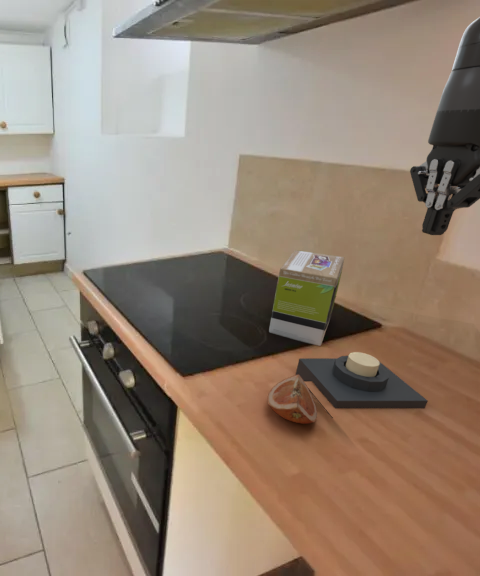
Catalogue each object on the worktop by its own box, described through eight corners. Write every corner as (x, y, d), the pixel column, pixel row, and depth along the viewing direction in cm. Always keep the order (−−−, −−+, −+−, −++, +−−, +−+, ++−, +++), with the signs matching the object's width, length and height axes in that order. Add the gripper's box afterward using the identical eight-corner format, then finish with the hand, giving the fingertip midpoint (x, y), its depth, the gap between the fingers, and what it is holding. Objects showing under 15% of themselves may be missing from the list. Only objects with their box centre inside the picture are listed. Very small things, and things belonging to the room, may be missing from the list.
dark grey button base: (370, 373, 66) (378, 349, 64) (420, 418, 55) (432, 390, 54) (295, 374, 66) (301, 349, 64) (332, 418, 55) (340, 390, 54)
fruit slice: (315, 443, 51) (323, 413, 49) (261, 426, 54) (267, 398, 52) (315, 406, 58) (322, 379, 56) (267, 393, 61) (273, 367, 59)
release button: (364, 362, 61) (368, 351, 60) (382, 377, 57) (386, 366, 56) (339, 362, 61) (343, 351, 60) (355, 377, 57) (359, 366, 56)
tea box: (282, 308, 90) (294, 248, 84) (330, 319, 85) (347, 256, 79) (266, 333, 79) (279, 266, 73) (321, 348, 73) (340, 277, 68)
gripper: (558, 103, 45) (500, 245, 51) (458, 109, 57) (421, 223, 63) (494, 104, 45) (444, 246, 51) (408, 110, 57) (377, 224, 63)
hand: (432, 233), depth 57 cm, fingers closed
